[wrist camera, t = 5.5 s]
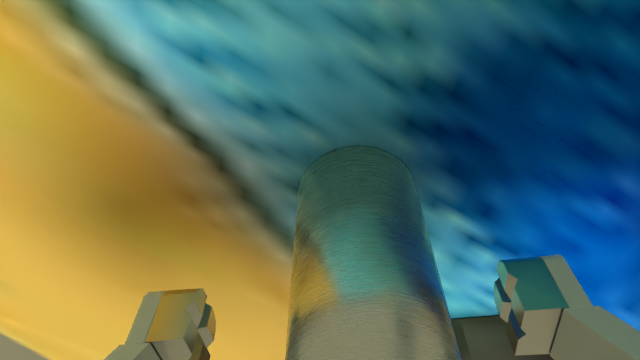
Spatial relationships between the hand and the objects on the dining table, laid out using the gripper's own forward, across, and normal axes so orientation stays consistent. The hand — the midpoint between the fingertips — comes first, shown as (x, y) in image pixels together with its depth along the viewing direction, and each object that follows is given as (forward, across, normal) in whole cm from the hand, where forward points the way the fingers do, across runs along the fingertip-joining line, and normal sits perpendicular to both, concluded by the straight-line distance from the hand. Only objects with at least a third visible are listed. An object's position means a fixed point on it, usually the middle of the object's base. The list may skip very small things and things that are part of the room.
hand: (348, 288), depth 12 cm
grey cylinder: (+4, 0, 0) cm, 4 cm away
